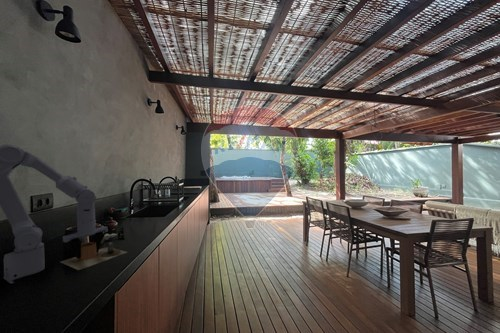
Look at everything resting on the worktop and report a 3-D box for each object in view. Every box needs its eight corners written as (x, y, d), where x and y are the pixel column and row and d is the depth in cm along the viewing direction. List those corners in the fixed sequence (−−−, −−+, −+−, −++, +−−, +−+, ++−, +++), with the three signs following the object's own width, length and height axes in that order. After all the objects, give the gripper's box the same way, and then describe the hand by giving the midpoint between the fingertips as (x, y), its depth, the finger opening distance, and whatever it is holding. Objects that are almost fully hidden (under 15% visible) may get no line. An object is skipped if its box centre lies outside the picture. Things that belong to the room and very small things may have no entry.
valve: (93, 248, 98) (124, 242, 105) (93, 233, 98) (123, 228, 105) (93, 244, 103) (122, 238, 110) (93, 230, 103) (122, 225, 110)
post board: (78, 273, 74) (78, 256, 74) (59, 264, 81) (59, 249, 81) (127, 254, 89) (127, 241, 89) (107, 248, 96) (107, 236, 96)
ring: (82, 261, 81) (82, 247, 81) (76, 258, 84) (75, 245, 84) (99, 255, 86) (98, 243, 86) (92, 253, 89) (91, 241, 89)
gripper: (68, 226, 77) (69, 264, 77) (111, 217, 89) (112, 250, 89) (59, 224, 80) (61, 260, 80) (102, 215, 93) (103, 247, 93)
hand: (87, 254), depth 85 cm, fingers closed on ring, 5 cm apart
